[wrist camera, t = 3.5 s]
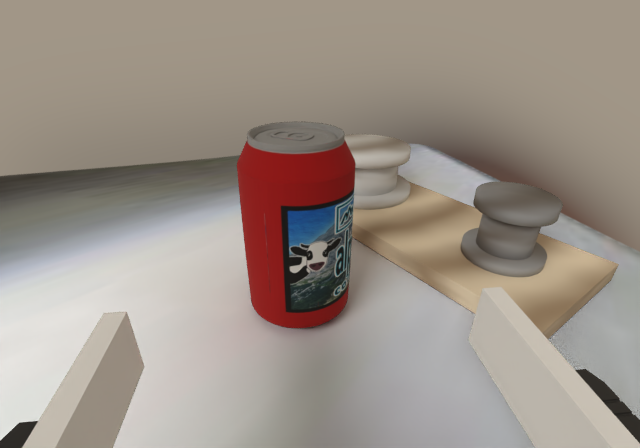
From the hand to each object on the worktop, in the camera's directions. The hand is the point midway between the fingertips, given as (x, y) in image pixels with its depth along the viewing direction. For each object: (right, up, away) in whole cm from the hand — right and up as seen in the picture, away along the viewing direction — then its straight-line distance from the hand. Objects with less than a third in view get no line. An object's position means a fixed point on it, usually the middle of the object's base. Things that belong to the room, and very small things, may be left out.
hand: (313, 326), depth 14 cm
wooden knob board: (+10, +3, +21) cm, 23 cm away
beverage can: (-1, -2, +12) cm, 12 cm away
